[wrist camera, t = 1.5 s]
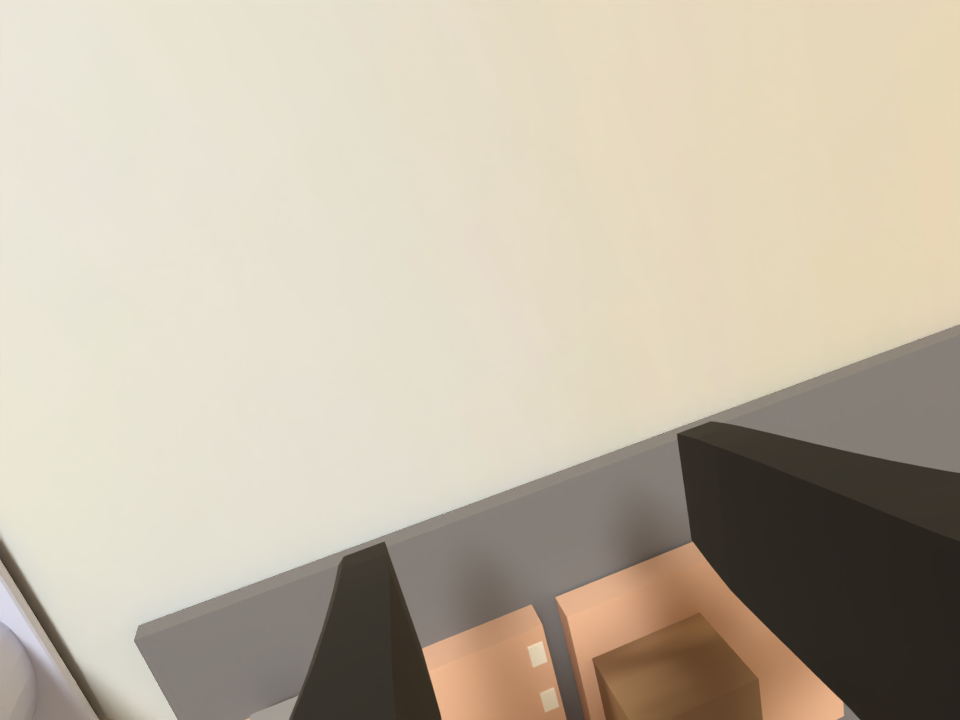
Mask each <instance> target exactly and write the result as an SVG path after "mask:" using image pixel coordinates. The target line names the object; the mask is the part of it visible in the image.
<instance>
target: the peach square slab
mask: <svg viewBox="0 0 960 720" xmlns="http://www.w3.org/2000/svg"><path fill="white" fill-rule="evenodd" d="M555 599H556V603H557V607H558V611H559V615H560V620H561V624H562V628H563V632H564V636H565V640H566V644H567V649H568V653H569V657H570V661H571V665H572V669H573V673H574V678H575V682H576V686H577V690H578V694H579V698H580V702H581V707H582V711H583V715H584V719H585V720H837V719H839V718H841V717H843V716H844V707H843V701H842V700H841V699H840V698H839V697H837V696H836V695H835V694H834V693H833V692H832V691H831V690H830V689H829V688H828V687H827V686H826V685H825V684H824V683H823V682H822V681H821V680H820V679H819V678H818V677H817V676H816V675H815V674H814V673H813V672H812V671H811V670H810V669H809V668H808V667H807V666H806V665H805V664H804V663H803V662H802V661H801V660H800V659H799V658H798V657H797V656H796V655H795V654H794V653H793V652H792V651H791V650H790V649H789V648H788V647H787V646H786V645H785V644H784V643H783V642H781V641H780V640H779V639H778V638H777V637H776V636H775V635H774V634H773V633H772V632H771V631H770V630H769V629H768V628H767V627H766V626H765V625H764V624H763V623H762V622H761V621H760V620H759V619H758V618H757V617H756V616H755V615H754V614H753V613H752V612H751V611H750V610H749V609H748V608H747V607H746V606H745V605H744V604H743V603H742V602H741V601H740V600H739V599H738V598H737V597H736V596H735V594H734V593H733V592H732V591H731V590H730V589H729V588H728V586H727V585H726V584H725V583H724V582H723V580H722V579H721V578H720V577H719V575H718V574H717V573H716V572H715V570H714V569H713V568H712V567H711V565H710V564H709V563H708V561H707V560H706V559H705V557H704V556H703V555H702V553H701V552H700V551H699V549H698V548H697V547H696V545H695V544H694V543H693V542H691V543H688V544H686V545H683V546H681V547H678V548H676V549H674V550H671V551H669V552H666V553H664V554H661V555H659V556H656V557H654V558H651V559H649V560H646V561H644V562H641V563H639V564H636V565H634V566H631V567H629V568H626V569H624V570H621V571H619V572H616V573H614V574H612V575H609V576H607V577H604V578H602V579H599V580H597V581H594V582H592V583H589V584H587V585H584V586H582V587H579V588H577V589H574V590H572V591H569V592H567V593H564V594H562V595H559V596H557V597H555Z"/></svg>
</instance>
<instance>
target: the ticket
mask: <svg viewBox="0 0 960 720" xmlns="http://www.w3.org/2000/svg"><path fill="white" fill-rule="evenodd" d="M422 651H423V654H424V657H425V661H426V664H427V668H428V671H429V675H430V678H431V682H432V685H433V689H434V692H435V696H436V699H437V703H438V707H439V710H440V714H441V719H442V720H567V719H566V715H565V711H564V707H563V703H562V699H561V695H560V692H559V688H558V684H557V680H556V676H555V672H554V668H553V664H552V660H551V656H550V652H549V648H548V645H547V641H546V637H545V633H544V629H543V625H542V623H541V621H540V619H539V617H538V616H537V614H536V612H535V610H534V608H533V606H532V604H531V605H529V606H526V607H524V608H521V609H519V610H516V611H514V612H511V613H509V614H506V615H504V616H501V617H499V618H496V619H494V620H491V621H489V622H487V623H484V624H482V625H479V626H477V627H474V628H472V629H469V630H467V631H464V632H462V633H459V634H457V635H454V636H452V637H449V638H447V639H444V640H442V641H439V642H437V643H434V644H432V645H429V646H427V647H424V648H422ZM298 696H299V695H298ZM298 696H296V697H293V698H291V699H288V700H286V701H283V702H281V703H279V704H276V705H274V706H271V707H269V708H266V709H264V710H261V711H259V712H256V713H254V714H251V715H250V718H248V719H246V720H289V718H290V716H291V713H292V711H293V708H294V706H295V703H296V701H297V698H298Z"/></svg>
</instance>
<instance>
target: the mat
mask: <svg viewBox="0 0 960 720" xmlns="http://www.w3.org/2000/svg"><path fill="white" fill-rule="evenodd" d="M710 421H714V422H720V423H727V424H732V425H737V426H742V427H746V428H751V429H755V430H760V431H764V432H768V433H772V434H777V435H781V436H785V437H789V438H793V439H797V440H802V441H806V442H810V443H814V444H818V445H823V446H827V447H831V448H836V449H840V450H844V451H849V452H853V453H858V454H862V455H867V456H872V457H877V458H881V459H886V460H891V461H896V462H902V463H907V464H912V465H918V466H923V467H928V468H934V469H939V470H944V471H950V472H957V473H960V325H958V326H955V327H952V328H949V329H947V330H944V331H941V332H939V333H936V334H933V335H930V336H928V337H925V338H922V339H919V340H917V341H914V342H911V343H909V344H906V345H903V346H900V347H898V348H895V349H892V350H889V351H887V352H884V353H881V354H879V355H876V356H873V357H870V358H868V359H865V360H862V361H859V362H857V363H854V364H851V365H849V366H846V367H843V368H840V369H838V370H835V371H832V372H829V373H827V374H824V375H821V376H819V377H816V378H813V379H810V380H808V381H805V382H802V383H799V384H797V385H794V386H791V387H789V388H786V389H783V390H780V391H778V392H775V393H772V394H769V395H767V396H764V397H761V398H759V399H756V400H753V401H750V402H748V403H745V404H742V405H740V406H737V407H734V408H731V409H729V410H726V411H723V412H720V413H718V414H715V415H712V416H710V417H707V418H704V419H701V420H699V421H696V422H693V423H690V424H688V425H685V426H682V427H680V428H677V429H674V430H671V431H669V432H666V433H663V434H660V435H658V436H655V437H652V438H650V439H647V440H644V441H641V442H639V443H636V444H633V445H630V446H628V447H625V448H622V449H620V450H617V451H614V452H611V453H609V454H606V455H603V456H600V457H598V458H595V459H592V460H590V461H587V462H584V463H581V464H579V465H576V466H573V467H571V468H568V469H565V470H562V471H560V472H557V473H554V474H551V475H549V476H546V477H543V478H541V479H538V480H535V481H532V482H530V483H527V484H524V485H521V486H519V487H516V488H513V489H511V490H508V491H505V492H502V493H500V494H497V495H494V496H491V497H489V498H486V499H483V500H481V501H478V502H475V503H472V504H470V505H467V506H464V507H461V508H459V509H456V510H453V511H451V512H448V513H445V514H442V515H440V516H437V517H434V518H431V519H429V520H426V521H423V522H421V523H418V524H415V525H412V526H410V527H407V528H404V529H402V530H399V531H396V532H393V533H391V534H388V535H385V536H382V537H380V538H377V539H374V540H372V541H369V542H366V543H363V544H361V545H358V546H355V547H352V548H350V549H347V550H344V551H342V552H339V553H336V554H333V555H331V556H328V557H325V558H322V559H320V560H317V561H314V562H312V563H309V564H306V565H303V566H301V567H298V568H295V569H292V570H290V571H287V572H284V573H282V574H279V575H276V576H273V577H271V578H268V579H265V580H262V581H260V582H257V583H254V584H252V585H249V586H246V587H243V588H241V589H238V590H235V591H233V592H230V593H227V594H224V595H222V596H219V597H216V598H213V599H211V600H208V601H205V602H203V603H200V604H197V605H194V606H192V607H189V608H186V609H183V610H181V611H178V612H175V613H173V614H170V615H167V616H164V617H162V618H159V619H156V620H153V621H151V622H148V623H145V624H143V625H140V626H138V629H137V632H136V636H135V639H134V642H135V643H136V645H137V647H138V649H139V651H140V652H141V654H142V656H143V658H144V660H145V661H146V663H147V665H148V667H149V669H150V670H151V672H152V674H153V676H154V678H155V679H156V681H157V683H158V685H159V687H160V688H161V690H162V692H163V694H164V696H165V697H166V699H167V701H168V703H169V705H170V706H171V708H172V710H173V712H174V714H175V715H176V717H177V719H178V720H246V719H248V718H250V715H251V714H254V713H256V712H259V711H261V710H264V709H266V708H269V707H271V706H274V705H276V704H279V703H281V702H283V701H286V700H288V699H291V698H293V697H296V696H298V695H299V693H300V691H301V688H302V686H303V683H304V681H305V678H306V675H307V672H308V669H309V666H310V663H311V661H312V658H313V655H314V652H315V649H316V646H317V643H318V640H319V637H320V634H321V631H322V627H323V624H324V621H325V617H326V614H327V610H328V607H329V603H330V600H331V596H332V592H333V588H334V584H335V579H336V575H337V569H338V565H339V564H340V562H341V560H342V558H343V557H344V556H346V555H349V554H352V553H354V552H357V551H360V550H363V549H365V548H368V547H371V546H373V545H376V544H379V543H382V542H384V541H385V544H386V547H387V550H388V552H389V555H390V558H391V561H392V564H393V567H394V570H395V573H396V575H397V578H398V581H399V584H400V587H401V590H402V593H403V596H404V598H405V601H406V604H407V607H408V610H409V613H410V616H411V619H412V621H413V624H414V627H415V630H416V633H417V636H418V639H419V642H420V644H421V647H422V648H424V647H427V646H429V645H432V644H434V643H437V642H439V641H442V640H444V639H447V638H449V637H452V636H454V635H457V634H459V633H462V632H464V631H467V630H469V629H472V628H474V627H477V626H479V625H482V624H484V623H487V622H489V621H491V620H494V619H496V618H499V617H501V616H504V615H506V614H509V613H511V612H514V611H516V610H519V609H521V608H524V607H526V606H529V605H531V604H532V606H533V608H534V610H535V612H536V614H537V616H538V617H539V619H540V621H541V623H542V625H543V629H544V633H545V637H546V641H547V645H548V648H549V652H550V656H551V660H552V664H553V668H554V672H555V676H556V680H557V684H558V688H559V692H560V695H561V699H562V703H563V707H564V711H565V715H566V719H567V720H585V719H584V715H583V711H582V707H581V702H580V698H579V694H578V690H577V686H576V682H575V678H574V673H573V669H572V665H571V661H570V657H569V653H568V649H567V644H566V640H565V636H564V632H563V628H562V624H561V620H560V615H559V611H558V607H557V603H556V599H555V597H557V596H559V595H562V594H564V593H567V592H569V591H572V590H574V589H577V588H579V587H582V586H584V585H587V584H589V583H592V582H594V581H597V580H599V579H602V578H604V577H607V576H609V575H612V574H614V573H616V572H619V571H621V570H624V569H626V568H629V567H631V566H634V565H636V564H639V563H641V562H644V561H646V560H649V559H651V558H654V557H656V556H659V555H661V554H664V553H666V552H669V551H671V550H674V549H676V548H678V547H681V546H683V545H686V544H688V543H691V542H693V541H692V540H691V533H690V525H689V518H688V511H687V504H686V497H685V490H684V482H683V475H682V468H681V461H680V454H679V447H678V440H677V433H680V432H683V431H686V430H688V429H691V428H694V427H696V426H699V425H702V424H705V423H707V422H710ZM843 707H844V716H843V717H841V718H839V719H837V720H860V719H859V718H858V717H857V716H856V715H855V714H854V713H853V712H852V711H851V709H850V708H849V707H848V706H847V705H846V704H845V703H844V702H843Z"/></svg>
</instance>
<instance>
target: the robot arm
mask: <svg viewBox="0 0 960 720" xmlns="http://www.w3.org/2000/svg"><path fill="white" fill-rule="evenodd" d="M677 440H678V447H679V454H680V461H681V468H682V475H683V482H684V490H685V497H686V504H687V511H688V518H689V525H690V533H691V540H692V541H693V543H694V544H695V545H696V547H697V548H698V549H699V551H700V552H701V553H702V555H703V556H704V557H705V559H706V560H707V561H708V563H709V564H710V565H711V567H712V568H713V569H714V570H715V572H716V573H717V574H718V575H719V577H720V578H721V579H722V580H723V582H724V583H725V584H726V585H727V586H728V588H729V589H730V590H731V591H732V592H733V593H734V594H735V596H736V597H737V598H738V599H739V600H740V601H741V602H742V603H743V604H744V605H745V606H746V607H747V608H748V609H749V610H750V611H751V612H752V613H753V614H754V615H755V616H756V617H757V618H758V619H759V620H760V621H761V622H762V623H763V624H764V625H765V626H766V627H767V628H768V629H769V630H770V631H771V632H772V633H773V634H774V635H775V636H776V637H777V638H778V639H779V640H780V641H781V642H783V643H784V644H785V645H786V646H787V647H788V648H789V649H790V650H791V651H792V652H793V653H794V654H795V655H796V656H797V657H798V658H799V659H800V660H801V661H802V662H803V663H804V664H805V665H806V666H807V667H808V668H809V669H810V670H811V671H812V672H813V673H814V674H815V675H816V676H817V677H818V678H819V679H820V680H821V681H822V682H823V683H824V684H825V685H826V686H827V687H828V688H829V689H830V690H831V691H832V692H833V693H834V694H835V695H836V696H837V697H839V698H840V699H841V700H842V701H843V702H844V703H845V704H846V705H847V706H848V707H849V708H850V709H851V711H852V712H853V713H854V714H855V715H856V716H857V717H858V718H859V719H860V720H960V473H957V472H950V471H944V470H939V469H934V468H928V467H923V466H918V465H912V464H907V463H902V462H896V461H891V460H886V459H881V458H877V457H872V456H867V455H862V454H858V453H853V452H849V451H844V450H840V449H836V448H831V447H827V446H823V445H818V444H814V443H810V442H806V441H802V440H797V439H793V438H789V437H785V436H781V435H777V434H772V433H768V432H764V431H760V430H755V429H751V428H746V427H742V426H737V425H732V424H727V423H720V422H714V421H710V422H707V423H705V424H702V425H699V426H696V427H694V428H691V429H688V430H686V431H683V432H680V433H677ZM0 720H99V719H98V717H97V716H96V714H95V713H94V711H93V709H92V708H91V706H90V704H89V703H88V701H87V700H86V698H85V696H84V695H83V693H82V691H81V690H80V688H79V687H78V685H77V683H76V682H75V680H74V678H73V677H72V675H71V674H70V672H69V670H68V669H67V667H66V665H65V664H64V662H63V661H62V659H61V657H60V656H59V654H58V653H57V651H56V649H55V648H54V646H53V644H52V643H51V641H50V640H49V638H48V636H47V635H46V633H45V631H44V630H43V628H42V627H41V625H40V623H39V622H38V620H37V618H36V617H35V615H34V614H33V612H32V610H31V609H30V607H29V605H28V604H27V602H26V601H25V599H24V597H23V596H22V594H21V592H20V591H19V589H18V588H17V586H16V584H15V583H14V581H13V579H12V578H11V576H10V575H9V573H8V571H7V570H6V568H5V566H4V565H3V563H2V562H1V560H0ZM289 720H442V719H441V714H440V710H439V707H438V703H437V699H436V696H435V692H434V689H433V685H432V682H431V678H430V675H429V671H428V668H427V664H426V661H425V657H424V654H423V651H422V647H421V644H420V642H419V639H418V636H417V633H416V630H415V627H414V624H413V621H412V619H411V616H410V613H409V610H408V607H407V604H406V601H405V598H404V596H403V593H402V590H401V587H400V584H399V581H398V578H397V575H396V573H395V570H394V567H393V564H392V561H391V558H390V555H389V552H388V550H387V547H386V544H385V541H384V542H382V543H379V544H376V545H373V546H371V547H368V548H365V549H363V550H360V551H357V552H354V553H352V554H349V555H346V556H344V557H343V558H342V560H341V562H340V564H339V565H338V569H337V575H336V579H335V584H334V588H333V592H332V596H331V600H330V603H329V607H328V610H327V614H326V617H325V621H324V624H323V627H322V631H321V634H320V637H319V640H318V643H317V646H316V649H315V652H314V655H313V658H312V661H311V663H310V666H309V669H308V672H307V675H306V678H305V681H304V683H303V686H302V688H301V691H300V693H299V696H298V698H297V701H296V703H295V706H294V708H293V711H292V713H291V716H290V718H289Z"/></svg>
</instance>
